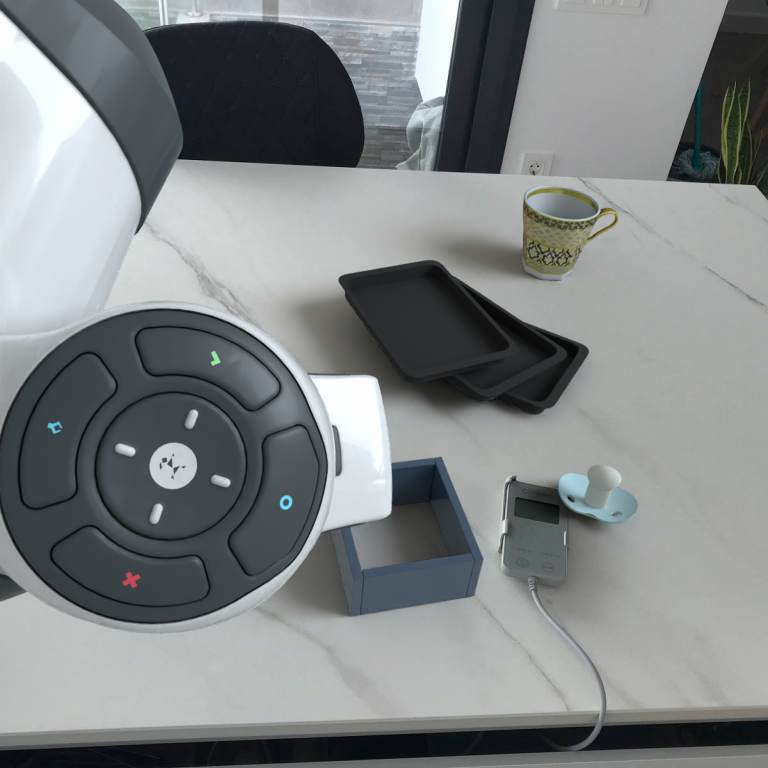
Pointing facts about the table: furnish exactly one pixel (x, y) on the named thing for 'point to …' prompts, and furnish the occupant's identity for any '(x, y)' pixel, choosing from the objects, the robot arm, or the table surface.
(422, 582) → the holder
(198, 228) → the table surface
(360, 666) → the table surface
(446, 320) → the tray
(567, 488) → the pacifier
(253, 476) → the robot arm
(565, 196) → the ceramic cup
